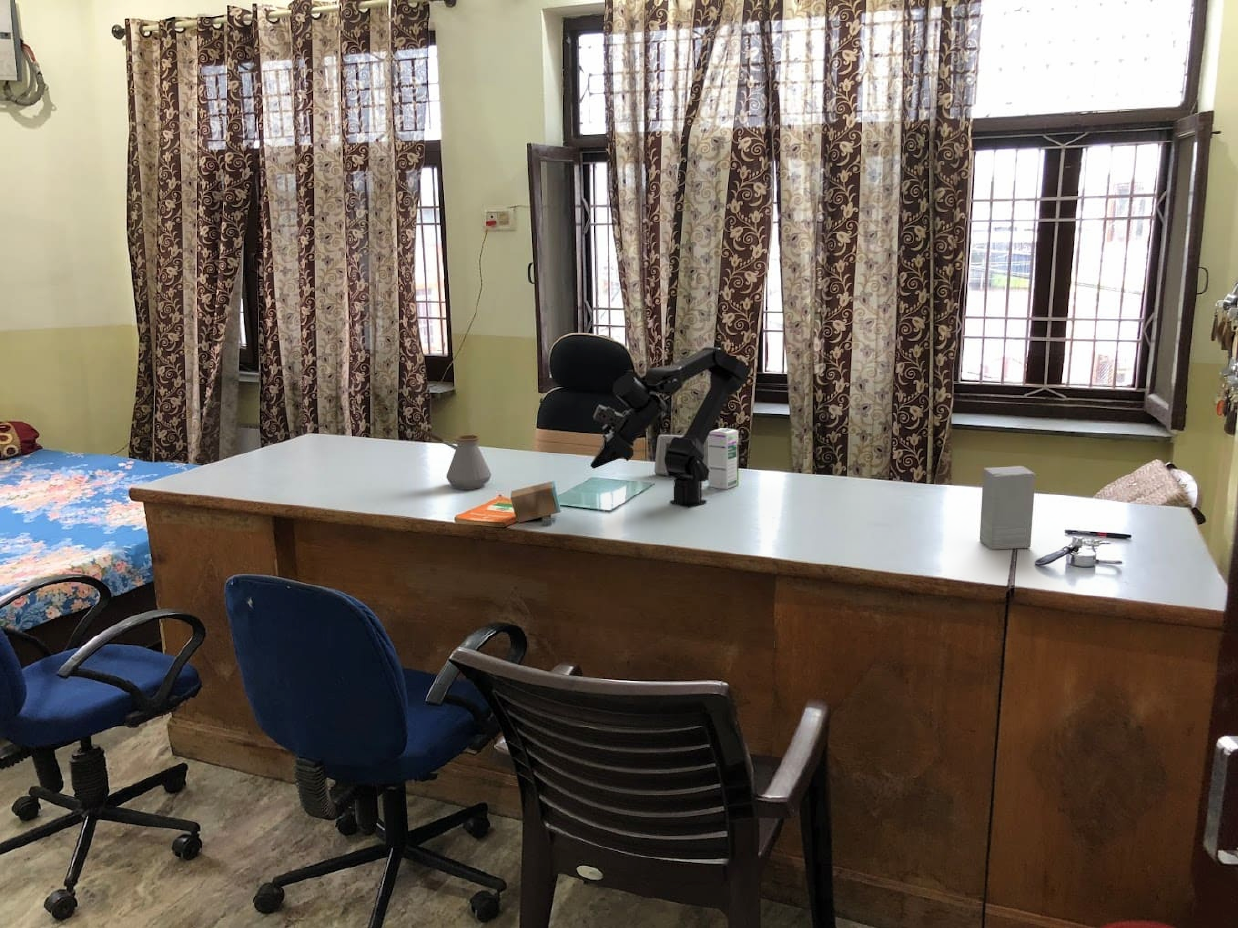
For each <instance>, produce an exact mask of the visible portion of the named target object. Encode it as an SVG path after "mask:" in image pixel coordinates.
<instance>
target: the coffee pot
mask: <svg viewBox="0 0 1238 928" xmlns="http://www.w3.org/2000/svg"><path fill="white" fill-rule="evenodd" d="M415 430H416V432H415ZM418 431H420V432H421V434H425V435H426V436H428V437H429V438H432V439H433V440H436V441H438V442H440V443H443V444H444V445H446V446H448V447H450V448H452V449H454V450H455V452H454V453H453V457H452V460H451V463H450V465H449V468H448V471H447V473H446V479H447V481H448V482H449V484H450V485H451V486H453V487H454V489H457V488H459V489H458V490H465V489H467V490H476V488H477V489H481V488H484V487H485V484H487V483H488V482H489V481H490V479H491V477H492V473H491V470H490V468H489V466H488V464H487V462H486V460H485V458H484V456H483V453H482V452H481V449H480V448H479V446H478V442H479V440H480V436H479V435H474V434H473V435H472V434H471V435H468V434H467V435H459V436H454V441H455V442H456V445H455V444H453V443H451V442H449V441H447V440H445V439H443V438H442V437H439V435H436V434H435V433H433V432H431V431H428V430H426V429H425V428H421V427H419V426H415V427H414V428H413V431H412V432H413V434H414V435H415V434H417V433H418Z"/></svg>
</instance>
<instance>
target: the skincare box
mask: <svg viewBox="0 0 1238 928" xmlns="http://www.w3.org/2000/svg"><path fill="white" fill-rule="evenodd" d="M982 472H983V473H982V475H983V476H982V487H981V488H982V489H981V491H982V492H981V508H980V509H981V510H980V525H979V526H980V528H979V542H981V543H982V544H983V545H985V546H986V547H987V548H988V549H989V550H991V551H992V550H993V551H995V550H1012V549H1028V548H1029V549H1030V548H1031V545H1032V544H1031V543H1032V532H1033V531H1032V529H1033V514H1034V501H1035V489H1036V485H1035V484H1036V478H1037V477H1036V476H1037V473H1035V472H1033V471H1031V470H1030V469H1028V468H1027V467H1026V466H1023V465H1017V466H1016V465H1015V466H1014V465H1012V466H1004V467H1003V466H999V467H997V466H996V467H984V468H983V471H982Z"/></svg>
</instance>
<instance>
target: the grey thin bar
mask: <svg viewBox="0 0 1238 928" xmlns="http://www.w3.org/2000/svg"><path fill="white" fill-rule="evenodd" d="M541 523H542V524H541V525H542V526H545V527H546V526H552V515H548V516H544V517H541Z"/></svg>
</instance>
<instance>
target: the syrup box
mask: <svg viewBox="0 0 1238 928" xmlns="http://www.w3.org/2000/svg"><path fill="white" fill-rule="evenodd" d="M739 459H740V458H739V430H738V429H734V428H725V427H724V428H723V427H722V428H718V429H717V428H716V429H714V430H713V429H712V430H711V431H710V433H709V435H708V469H709V476H708V479H707V480H708V487H710V488H715V489H721V490H729V489H731V488H733V487H737V486H739V483H740V481H739V480H740V479H739V475H740V473H739V471H740V470H739V463H740V462H739V461H740V460H739Z"/></svg>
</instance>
